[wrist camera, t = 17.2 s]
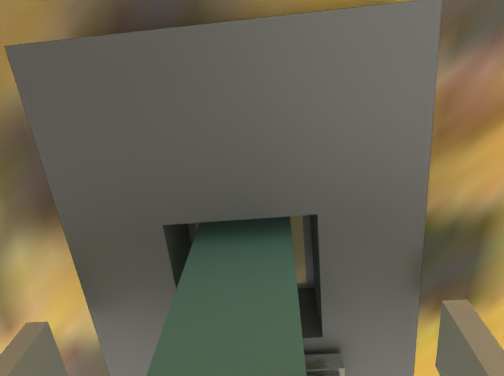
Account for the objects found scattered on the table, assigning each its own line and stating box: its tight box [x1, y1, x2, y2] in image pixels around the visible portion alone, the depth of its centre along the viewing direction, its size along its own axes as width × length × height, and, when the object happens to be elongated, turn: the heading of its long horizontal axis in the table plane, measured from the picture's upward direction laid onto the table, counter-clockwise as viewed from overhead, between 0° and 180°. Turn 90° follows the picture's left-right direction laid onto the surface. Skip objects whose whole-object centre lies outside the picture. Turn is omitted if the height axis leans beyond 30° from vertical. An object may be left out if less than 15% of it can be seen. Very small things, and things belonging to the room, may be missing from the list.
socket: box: [4, 0, 442, 376], centre depth 18 cm, size 20×14×4 cm
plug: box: [146, 216, 306, 376], centre depth 14 cm, size 4×4×11 cm
